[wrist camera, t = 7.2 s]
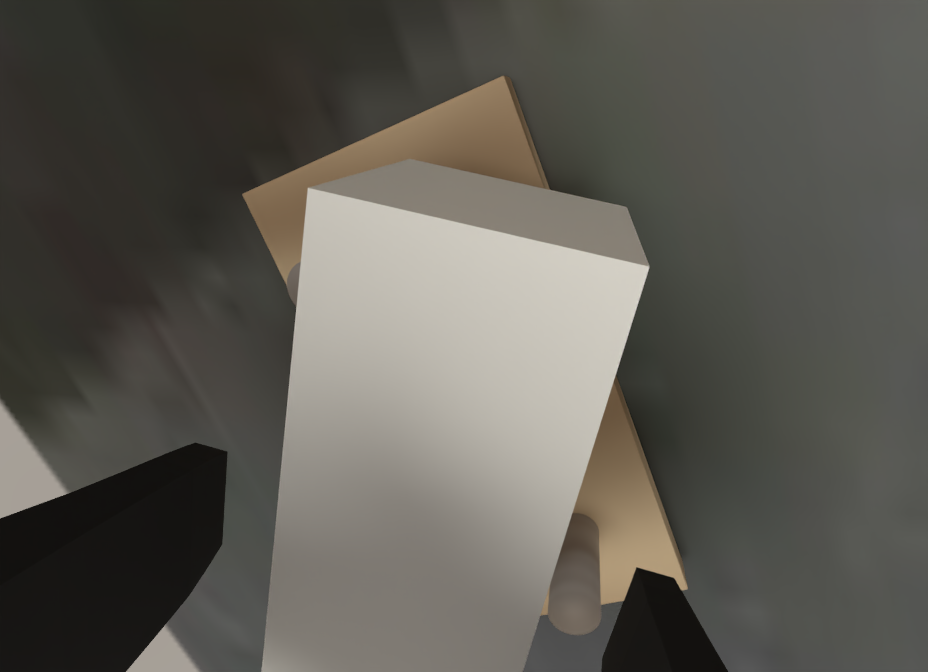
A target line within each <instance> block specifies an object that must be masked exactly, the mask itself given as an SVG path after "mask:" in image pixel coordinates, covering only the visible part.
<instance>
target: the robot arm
mask: <svg viewBox="0 0 928 672" xmlns="http://www.w3.org/2000/svg"><path fill="white" fill-rule="evenodd" d="M226 468H227V451H223V450H220V449H216V448H212V447H209V446H205V445H202V444H198V443H193V444H191V445H188V446H185V447H182V448H179V449H177V450H174V451H172V452H169V453H167V454H164V455H162V456H159V457H157V458H154V459H152V460H150V461H147V462H145V463H142V464H140V465H138V466H135V467H133V468H130V469H128V470H126V471H123V472H121V473H118V474H116V475H113V476H111V477H108V478H106V479H103V480H101V481H99V482H96V483H94V484H91V485H89V486H86V487H84V488H81V489H79V490H76V491H74V492H71V493H69V494H66V495H63V496H61V497H58V498H55V499H52V500H50V501H47V502H44V503H41V504H39V505H36V506H33V507H31V508H28V509H25V510H22V511H20V512H17V513H14V514H11V515H9V516H6V517H3V518H1V519H0V672H126V671H127V669H128V668H129V667H130V666H131V665H132V664H133V663H134V661H135V660H136V659H137V658H138V657H139V655H140V654H141V653H142V652H143V651H144V649H145V648H146V647H147V646H148V645H149V643H150V642H151V641H152V640H153V639H154V638H155V636H156V635H157V634H158V633H159V631H160V630H161V629H162V628H163V627H164V625H165V624H166V623H167V622H168V621H169V619H170V618H171V617H172V616H173V615H174V613H175V612H176V611H177V610H178V609H179V607H180V606H181V605H182V604H183V602H184V601H185V600H186V599H187V597H188V596H189V595H190V593H191V592H192V590H193V589H194V587H195V586H196V584H197V583H198V581H199V580H200V578H201V577H202V575H203V574H204V572H205V571H206V569H207V568H208V566H209V564H210V563H211V561H212V560H213V558H214V556H215V555H216V553H217V552H218V550H219V548H220V547H221V545H222V538H223V520H224V503H225V485H226ZM602 672H728V671H727V669H726V667H725V665H724V664H723V662H722V660H721V659H720V657H719V655H718V654H717V652H716V650H715V648H714V647H713V645H712V643H711V642H710V640H709V638H708V636H707V635H706V633H705V631H704V629H703V628H702V626H701V624H700V622H699V621H698V619H697V617H696V615H695V613H694V612H693V610H692V608H691V606H690V605H689V603H688V601H687V599H686V598H685V596H684V594H683V592H682V591H681V589H680V587H679V585H678V584H677V582H676V580H675V579H674V578H673V577H669V576H666V575H662V574H659V573H655V572H652V571H648V570H644V569H641V568H637V567H636V570H635V573H634V575H633V578H632V581H631V583H630V586H629V589H628V591H627V594H626V597H625V599H624V602H623V605H622V607H621V610H620V613H619V615H618V618H617V621H616V623H615V626H614V629H613V631H612V634H611V636H610V639H609V642H608V644H607V647H606V650H605V652H604V655H603V658H602Z"/></svg>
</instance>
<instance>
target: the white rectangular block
mask: <svg viewBox="0 0 928 672" xmlns="http://www.w3.org/2000/svg"><path fill="white" fill-rule="evenodd" d="M648 270H649V264H648V261H647V259H646V256H645V254H644V251H643V248H642V246H641V243H640V241H639V238H638V235H637V233H636V230H635V228H634V225H633V222H632V220H631V217H630V215H629V212H628V209H627V207H625V206H620V205H616V204H611V203H607V202H602V201H598V200H593V199H589V198H584V197H580V196H575V195H571V194H566V193H562V192H557V191H553V190H548V189H544V188H539V187H535V186H530V185H526V184H521V183H517V182H512V181H508V180H503V179H499V178H494V177H490V176H485V175H481V174H476V173H471V172H467V171H462V170H458V169H453V168H449V167H444V166H440V165H435V164H431V163H426V162H422V161H417V160H413V159H408V160H404V161H401V162H397V163H394V164H390V165H386V166H383V167H379V168H376V169H372V170H369V171H365V172H362V173H358V174H355V175H351V176H348V177H344V178H341V179H337V180H334V181H330V182H326V183H323V184H319V185H316V186H312V187H309V188H308V192H307V202H306V212H305V223H304V233H303V244H302V254H301V265H300V275H299V286H298V296H297V307H296V317H295V328H294V338H293V349H292V359H291V370H290V380H289V391H288V401H287V411H286V422H285V432H284V443H283V453H282V464H281V474H280V485H279V495H278V506H277V516H276V527H275V537H274V548H273V558H272V569H271V579H270V589H269V600H268V610H267V621H266V631H265V642H264V652H263V663H262V672H523V669H524V666H525V663H526V660H527V656H528V653H529V650H530V647H531V644H532V640H533V637H534V634H535V631H536V628H537V624H538V621H539V618H540V615H541V612H542V608H543V605H544V602H545V599H546V596H547V593H548V589H549V586H550V583H551V580H552V577H553V573H554V570H555V567H556V564H557V561H558V557H559V554H560V551H561V548H562V545H563V541H564V538H565V535H566V532H567V529H568V526H569V522H570V519H571V516H572V513H573V510H574V506H575V503H576V500H577V497H578V494H579V490H580V487H581V484H582V481H583V478H584V474H585V471H586V468H587V465H588V462H589V459H590V455H591V452H592V449H593V446H594V443H595V439H596V436H597V433H598V430H599V427H600V423H601V420H602V417H603V414H604V411H605V407H606V404H607V401H608V398H609V395H610V392H611V388H612V385H613V382H614V379H615V376H616V372H617V369H618V366H619V363H620V360H621V356H622V353H623V350H624V347H625V344H626V340H627V337H628V334H629V331H630V328H631V324H632V321H633V318H634V315H635V312H636V309H637V305H638V302H639V299H640V296H641V293H642V289H643V286H644V283H645V280H646V277H647V273H648Z"/></svg>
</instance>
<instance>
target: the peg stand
mask: <svg viewBox="0 0 928 672" xmlns="http://www.w3.org/2000/svg"><path fill="white" fill-rule="evenodd" d="M408 159H413V160H417V161H422V162H426V163H431V164H435V165H440V166H444V167H449V168H453V169H458V170H462V171H467V172H471V173H476V174H481V175H485V176H490V177H494V178H499V179H503V180H508V181H512V182H517V183H521V184H526V185H530V186H535V187H539V188H544V189H548V190H550V188H549V186H548V183H547V180H546V177H545V174H544V172H543V169H542V166H541V163H540V160H539V157H538V155H537V152H536V149H535V146H534V143H533V141H532V138H531V135H530V132H529V129H528V127H527V124H526V121H525V118H524V115H523V113H522V110H521V107H520V104H519V101H518V99H517V96H516V93H515V90H514V87H513V85H512V82H511V79H510V78H509V77H506V76H501V77H499V78H497V79H495V80H493V81H490V82H488V83H486V84H484V85H482V86H479V87H477V88H475V89H473V90H471V91H468V92H466V93H464V94H462V95H460V96H457V97H455V98H453V99H451V100H449V101H446V102H444V103H442V104H440V105H438V106H435V107H433V108H431V109H429V110H426V111H424V112H422V113H420V114H418V115H415V116H413V117H411V118H409V119H407V120H404V121H402V122H400V123H398V124H396V125H393V126H391V127H389V128H387V129H385V130H382V131H380V132H378V133H376V134H374V135H371V136H369V137H367V138H365V139H363V140H360V141H358V142H356V143H354V144H351V145H349V146H347V147H345V148H343V149H340V150H338V151H336V152H334V153H332V154H329V155H327V156H325V157H323V158H321V159H318V160H316V161H314V162H312V163H310V164H307V165H305V166H303V167H301V168H299V169H296V170H294V171H292V172H290V173H288V174H285V175H283V176H281V177H279V178H277V179H274V180H272V181H270V182H268V183H265V184H263V185H261V186H259V187H257V188H254V189H252V190H250V191H248V192H246V193H243V194H242V195H243V197H244V199H245V201H246V203H247V205H248V207H249V209H250V211H251V213H252V215H253V218H254V220H255V222H256V224H257V226H258V228H259V230H260V232H261V234H262V236H263V238H264V240H265V242H266V244H267V246H268V248H269V250H270V252H271V254H272V256H273V259H274V261H275V263H276V265H277V267H278V269H279V271H280V273H281V275H282V277H283V279H284V281H285V283H286V285H287V290H288V294H289V296H290V298H291V300H292V302H293V303H294V305H295V306H296V307H297V296H298V286H299V275H300V265H301V254H302V244H303V233H304V223H305V212H306V202H307V192H308V188H309V187H312V186H316V185H319V184H323V183H326V182H330V181H334V180H337V179H341V178H344V177H348V176H351V175H355V174H358V173H362V172H365V171H369V170H372V169H376V168H379V167H383V166H386V165H390V164H394V163H397V162H401V161H404V160H408ZM636 567H637V568H641V569H644V570H648V571H652V572H655V573H659V574H662V575H666V576H669V577H673V578H674V579H675V580H676V582H677V584H678V585H679V587H680V589H681V590H686V589H688V586H687V582H686V577H685V572H684V567H683V562H682V558H681V556H680V553H679V550H678V547H677V544H676V542H675V539H674V536H673V533H672V530H671V528H670V525H669V522H668V519H667V516H666V514H665V511H664V508H663V505H662V502H661V500H660V497H659V494H658V491H657V488H656V486H655V483H654V480H653V477H652V474H651V471H650V469H649V466H648V463H647V460H646V457H645V455H644V452H643V449H642V446H641V443H640V441H639V438H638V435H637V432H636V429H635V427H634V424H633V421H632V418H631V415H630V413H629V410H628V407H627V404H626V401H625V399H624V396H623V393H622V390H621V387H620V385H619V382H618V379H617V376H615V379H614V382H613V385H612V388H611V392H610V395H609V398H608V401H607V404H606V407H605V411H604V414H603V417H602V420H601V423H600V427H599V430H598V433H597V436H596V439H595V443H594V446H593V449H592V452H591V455H590V459H589V462H588V465H587V468H586V471H585V474H584V478H583V481H582V484H581V487H580V490H579V494H578V497H577V500H576V503H575V506H574V510H573V513H572V516H571V519H570V522H569V526H568V529H567V532H566V535H565V538H564V541H563V545H562V548H561V551H560V554H559V557H558V561H557V564H556V567H555V570H554V573H553V577H552V580H551V583H550V586H549V589H548V593H547V596H546V599H545V602H544V605H543V608H542V612H541V615H546V614H548V617H549V619H550V621H551V623H552V624H553V625H554V626H555V627H556V628H557V629H559V630H560V631H562V632H565V633H567V634H572V635H583V634H587V633H590V632H592V631H593V630H595V629H596V628H597V627H598V625H599V623H600V621H601V605H602V604H607V603H613V602H619V601H624V599H625V597H626V594H627V591H628V589H629V586H630V583H631V581H632V578H633V575H634V573H635V570H636Z"/></svg>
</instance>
